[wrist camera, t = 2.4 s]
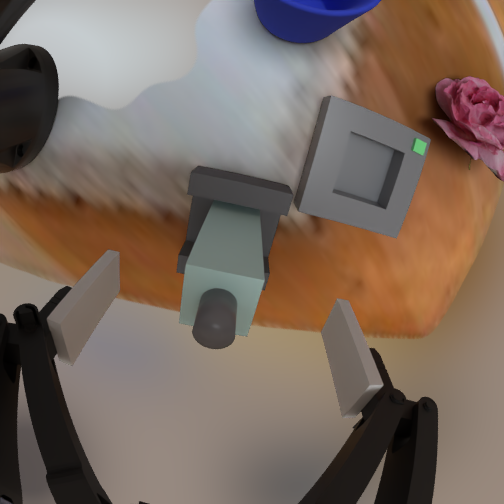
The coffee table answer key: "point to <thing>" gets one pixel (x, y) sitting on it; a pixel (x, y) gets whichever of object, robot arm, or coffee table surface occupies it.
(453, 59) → the coffee table surface
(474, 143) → the flower
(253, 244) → the plug
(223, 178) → the holster
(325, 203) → the port
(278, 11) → the mug
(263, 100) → the coffee table surface
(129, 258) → the coffee table surface
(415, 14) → the coffee table surface
